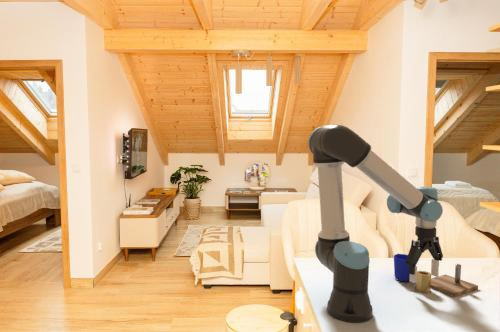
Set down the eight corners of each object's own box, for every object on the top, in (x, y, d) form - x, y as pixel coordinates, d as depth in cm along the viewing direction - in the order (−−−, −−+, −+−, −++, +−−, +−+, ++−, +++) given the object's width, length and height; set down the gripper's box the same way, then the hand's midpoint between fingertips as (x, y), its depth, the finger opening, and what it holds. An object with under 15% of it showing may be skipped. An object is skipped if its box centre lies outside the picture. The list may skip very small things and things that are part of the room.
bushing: (424, 293, 148) (425, 276, 147) (412, 289, 152) (413, 272, 152) (432, 291, 150) (433, 274, 150) (421, 286, 155) (421, 270, 154)
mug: (407, 273, 170) (408, 251, 169) (416, 283, 158) (417, 260, 157) (388, 272, 171) (389, 251, 170) (395, 282, 159) (396, 259, 158)
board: (454, 296, 145) (454, 293, 145) (421, 284, 157) (422, 281, 157) (477, 289, 153) (478, 285, 153) (445, 277, 165) (445, 274, 165)
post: (458, 285, 153) (459, 266, 152) (452, 283, 155) (453, 264, 154) (462, 284, 154) (463, 265, 153) (456, 282, 156) (457, 263, 156)
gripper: (413, 232, 140) (412, 288, 142) (453, 224, 153) (451, 275, 154) (396, 228, 146) (395, 281, 148) (436, 220, 159) (434, 270, 161)
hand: (424, 278), depth 151 cm, fingers open, 13 cm apart
